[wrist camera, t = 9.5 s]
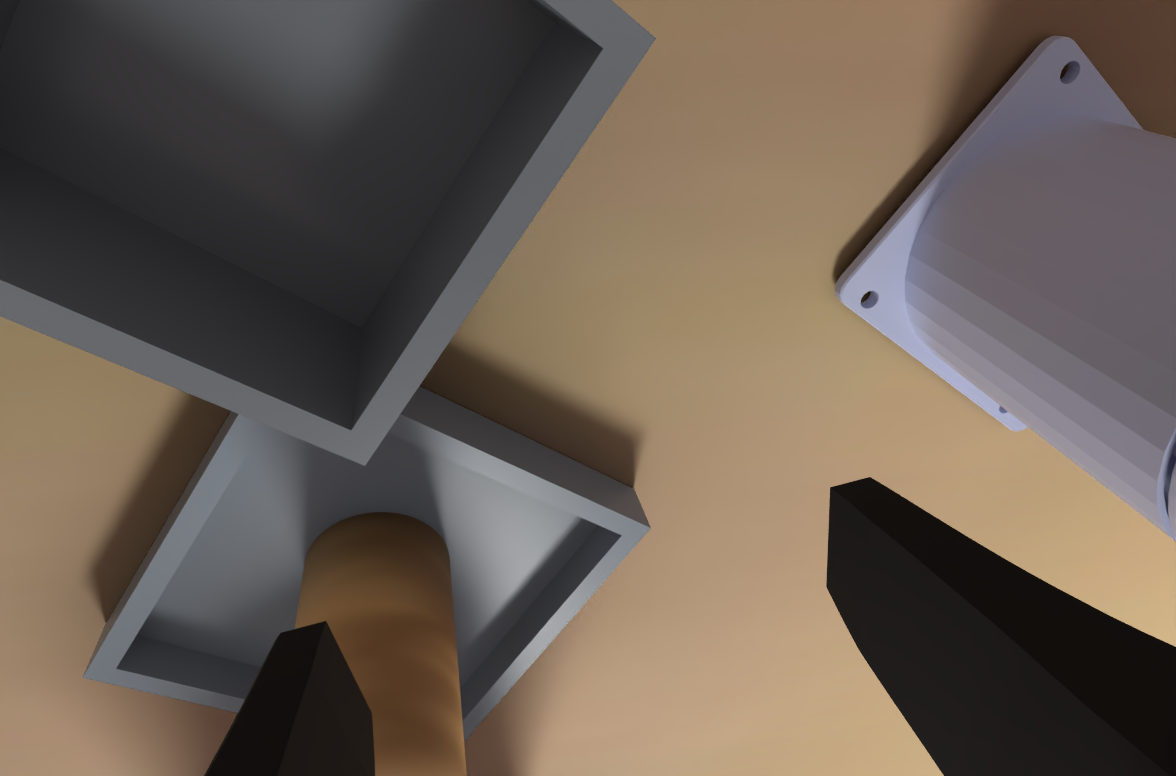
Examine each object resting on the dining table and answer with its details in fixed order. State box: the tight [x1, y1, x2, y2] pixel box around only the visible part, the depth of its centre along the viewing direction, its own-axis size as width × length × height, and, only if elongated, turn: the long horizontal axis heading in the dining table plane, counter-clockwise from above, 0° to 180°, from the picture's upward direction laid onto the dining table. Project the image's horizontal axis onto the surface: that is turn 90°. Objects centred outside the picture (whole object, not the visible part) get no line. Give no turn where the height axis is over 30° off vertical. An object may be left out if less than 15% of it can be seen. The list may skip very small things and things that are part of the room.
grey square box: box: [0, 0, 656, 466], centre depth 13 cm, size 9×9×5 cm
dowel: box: [295, 512, 467, 776], centre depth 18 cm, size 4×4×7 cm
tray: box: [83, 386, 651, 741], centre depth 21 cm, size 11×11×2 cm
